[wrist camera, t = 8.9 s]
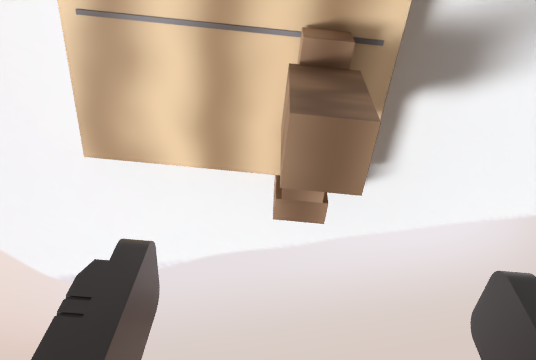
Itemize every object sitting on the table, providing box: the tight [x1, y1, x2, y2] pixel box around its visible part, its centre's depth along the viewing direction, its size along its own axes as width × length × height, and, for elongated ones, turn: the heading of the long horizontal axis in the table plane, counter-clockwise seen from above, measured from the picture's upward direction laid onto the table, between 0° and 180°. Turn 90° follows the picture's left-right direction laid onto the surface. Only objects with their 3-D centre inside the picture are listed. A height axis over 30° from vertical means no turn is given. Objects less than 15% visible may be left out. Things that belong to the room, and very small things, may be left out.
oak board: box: [58, 0, 412, 175], centre depth 28 cm, size 20×14×3 cm
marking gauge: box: [273, 27, 381, 224], centre depth 26 cm, size 4×13×11 cm, turn 175°
